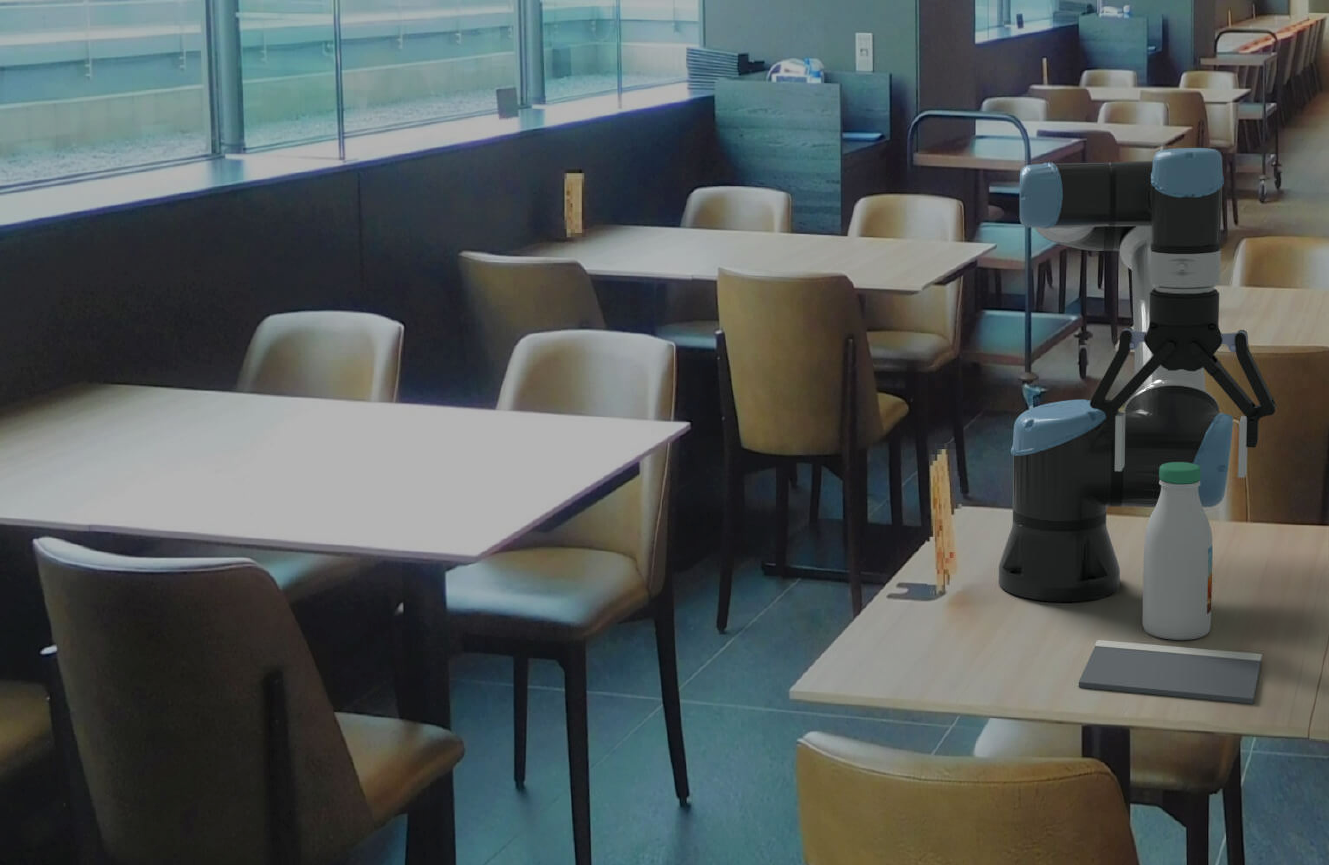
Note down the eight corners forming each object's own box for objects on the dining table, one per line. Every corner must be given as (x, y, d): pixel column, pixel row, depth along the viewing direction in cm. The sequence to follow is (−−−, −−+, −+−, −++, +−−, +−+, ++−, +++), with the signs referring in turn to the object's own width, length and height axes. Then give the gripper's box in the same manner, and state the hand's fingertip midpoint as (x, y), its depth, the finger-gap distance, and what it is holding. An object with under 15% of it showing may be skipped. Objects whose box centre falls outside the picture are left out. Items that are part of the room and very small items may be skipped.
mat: (1078, 687, 193) (1078, 680, 193) (1097, 645, 205) (1097, 639, 205) (1253, 703, 186) (1253, 697, 186) (1261, 660, 198) (1261, 654, 198)
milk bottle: (1200, 645, 204) (1204, 476, 199) (1133, 636, 208) (1136, 470, 203) (1218, 625, 210) (1223, 461, 206) (1153, 616, 214) (1156, 455, 210)
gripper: (1066, 291, 201) (1064, 473, 206) (1300, 294, 192) (1293, 485, 196) (1077, 281, 208) (1075, 458, 212) (1303, 284, 198) (1296, 469, 203)
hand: (1180, 471), depth 204 cm, fingers open, 13 cm apart
